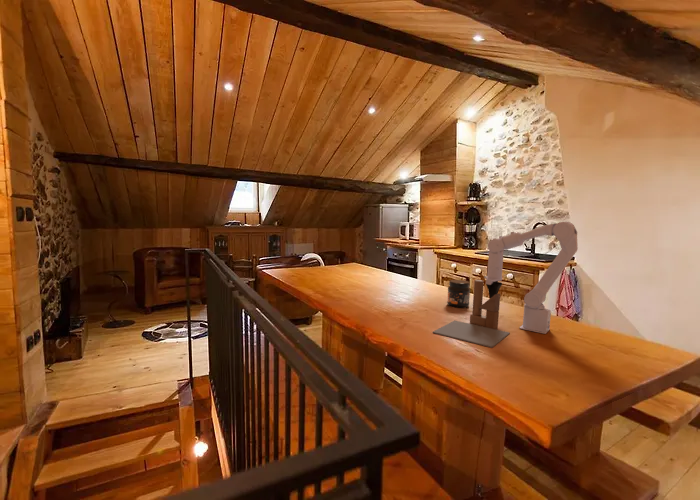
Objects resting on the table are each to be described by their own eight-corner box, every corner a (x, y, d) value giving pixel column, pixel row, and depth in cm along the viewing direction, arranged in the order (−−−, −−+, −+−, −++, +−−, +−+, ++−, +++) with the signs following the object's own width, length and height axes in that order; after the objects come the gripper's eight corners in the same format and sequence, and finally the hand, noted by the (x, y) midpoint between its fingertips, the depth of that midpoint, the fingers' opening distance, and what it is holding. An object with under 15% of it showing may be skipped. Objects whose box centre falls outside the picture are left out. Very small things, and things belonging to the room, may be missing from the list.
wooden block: (492, 330, 144) (496, 284, 142) (469, 322, 153) (472, 280, 151) (498, 328, 147) (501, 283, 145) (474, 321, 155) (477, 279, 153)
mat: (509, 333, 140) (509, 332, 140) (492, 347, 125) (492, 346, 125) (454, 321, 154) (454, 320, 154) (432, 332, 139) (432, 331, 139)
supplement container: (442, 303, 184) (443, 280, 182) (459, 302, 188) (460, 279, 187) (456, 309, 174) (458, 284, 173) (473, 307, 179) (475, 282, 177)
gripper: (491, 264, 162) (489, 294, 164) (479, 267, 151) (477, 300, 153) (508, 266, 158) (505, 297, 159) (496, 270, 147) (494, 303, 148)
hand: (492, 299), depth 156 cm, fingers closed
